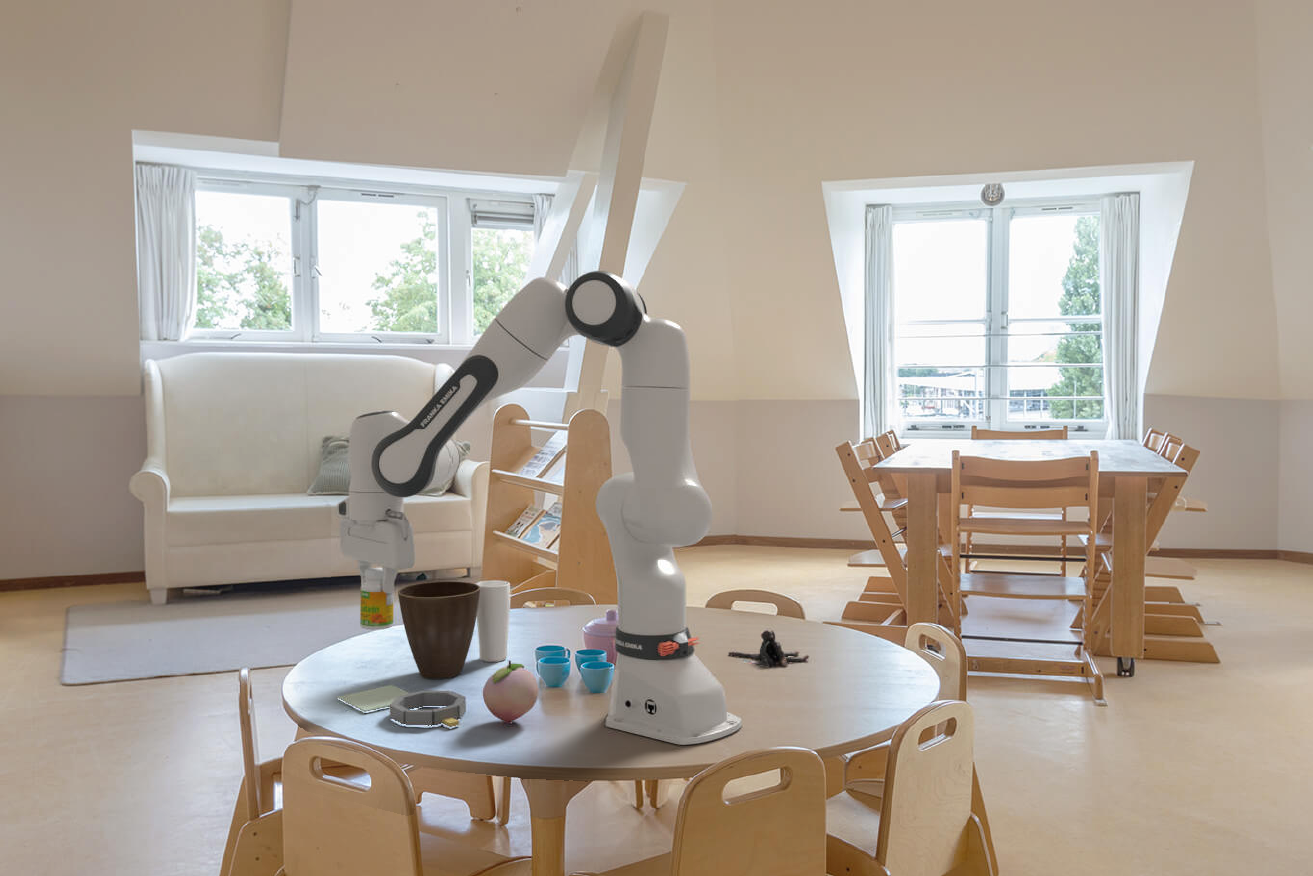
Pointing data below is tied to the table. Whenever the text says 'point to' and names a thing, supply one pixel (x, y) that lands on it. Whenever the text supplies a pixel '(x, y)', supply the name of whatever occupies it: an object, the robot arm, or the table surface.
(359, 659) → the table surface
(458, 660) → the plant pot
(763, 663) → the stuffed animal
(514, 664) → the decorative fruit
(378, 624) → the supplement bottle
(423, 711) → the collar
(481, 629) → the drinking glass
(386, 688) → the mat
